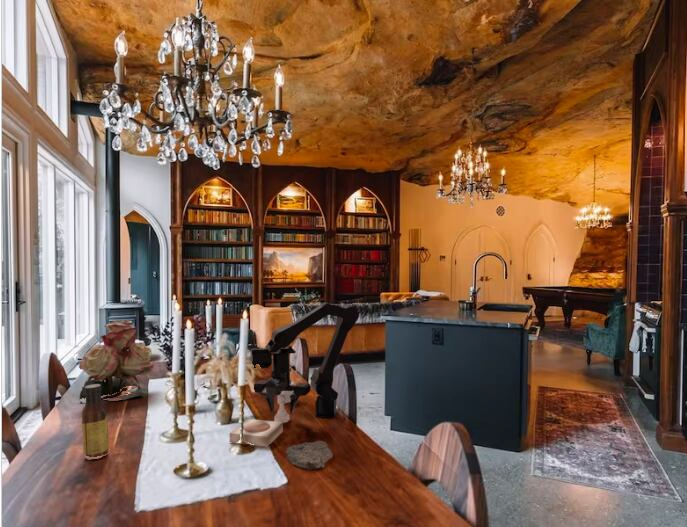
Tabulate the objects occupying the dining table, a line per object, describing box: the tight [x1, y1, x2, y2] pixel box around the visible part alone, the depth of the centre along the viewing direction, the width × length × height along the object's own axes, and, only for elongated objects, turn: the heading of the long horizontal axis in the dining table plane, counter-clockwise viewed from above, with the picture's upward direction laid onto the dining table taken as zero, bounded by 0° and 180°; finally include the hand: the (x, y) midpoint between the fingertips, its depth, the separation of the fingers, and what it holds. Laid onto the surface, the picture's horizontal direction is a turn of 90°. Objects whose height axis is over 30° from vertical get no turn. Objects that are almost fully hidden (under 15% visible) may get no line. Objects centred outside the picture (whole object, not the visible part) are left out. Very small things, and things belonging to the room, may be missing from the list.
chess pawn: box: [274, 394, 290, 424], centre depth 154 cm, size 5×5×9 cm
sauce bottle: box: [81, 384, 110, 457], centre depth 128 cm, size 6×6×20 cm
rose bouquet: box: [78, 319, 155, 401], centre depth 186 cm, size 26×29×30 cm
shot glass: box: [276, 380, 295, 404], centre depth 175 cm, size 7×7×7 cm
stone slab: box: [285, 440, 334, 471], centre depth 126 cm, size 12×17×3 cm
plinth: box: [229, 418, 284, 448], centre depth 140 cm, size 12×12×3 cm
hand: (281, 413), depth 154 cm, fingers open, 7 cm apart
